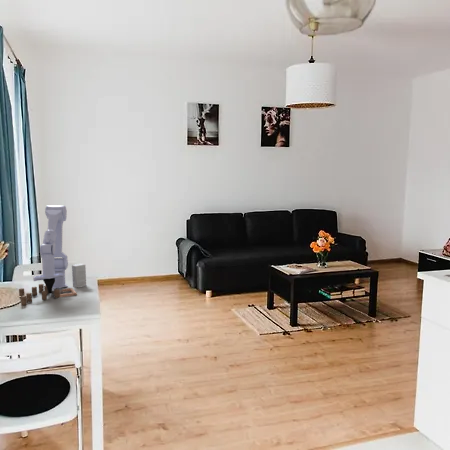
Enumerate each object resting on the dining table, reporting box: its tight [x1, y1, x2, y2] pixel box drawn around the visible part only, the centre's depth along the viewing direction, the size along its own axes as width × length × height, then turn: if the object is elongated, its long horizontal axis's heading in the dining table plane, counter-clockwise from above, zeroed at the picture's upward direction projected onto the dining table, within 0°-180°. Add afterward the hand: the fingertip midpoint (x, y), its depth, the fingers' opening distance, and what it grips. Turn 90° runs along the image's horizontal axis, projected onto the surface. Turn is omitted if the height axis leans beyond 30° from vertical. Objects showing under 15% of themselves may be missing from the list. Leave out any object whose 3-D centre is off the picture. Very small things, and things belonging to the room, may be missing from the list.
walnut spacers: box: [18, 283, 61, 306], centre depth 238 cm, size 20×18×4 cm
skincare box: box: [71, 262, 87, 289], centre depth 258 cm, size 6×4×12 cm
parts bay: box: [60, 287, 78, 298], centre depth 245 cm, size 10×9×1 cm
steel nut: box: [51, 287, 64, 297], centre depth 242 cm, size 6×5×3 cm
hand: (49, 293), depth 240 cm, fingers closed
